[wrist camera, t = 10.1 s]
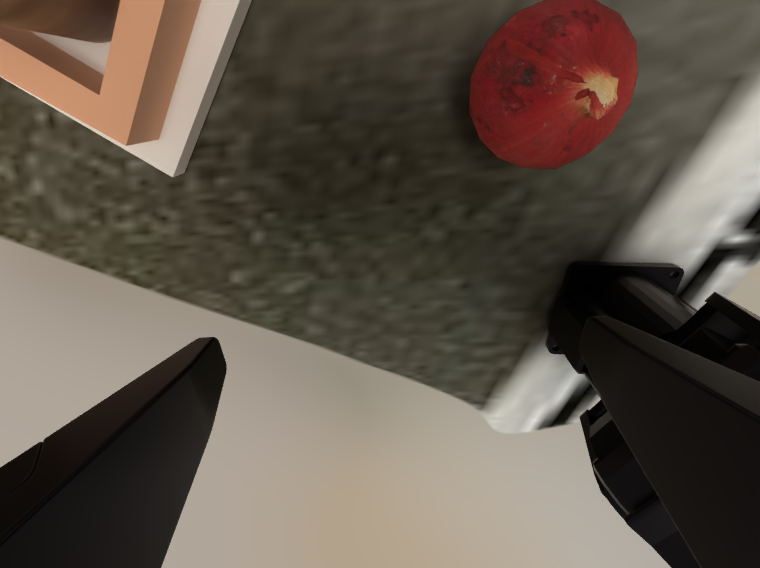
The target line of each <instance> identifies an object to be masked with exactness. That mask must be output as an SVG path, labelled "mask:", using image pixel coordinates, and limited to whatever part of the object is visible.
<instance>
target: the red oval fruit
mask: <svg viewBox="0 0 760 568" xmlns="http://www.w3.org/2000/svg"><path fill="white" fill-rule="evenodd" d="M637 76H638V65H637V45H636V40H635V38H634V37H633V35H632V33H631V32H630V30H629V28H628V26H627V25H626V23H625V21H624V20H623V18H622V16H621V14H619V13H617V12H616V11H614V10H612V9H610V8H608V7H607V6H605V5H603V4H601V3H599V2H598V1H596V0H544V1H542V2H540V3H537V4H535V5H533V6H530V7H528V8H526V9H523V10H521V11H519V12H517V13H516V14H515V15H514V16H513V17H512V18H511V19H510V20H509V21H508V22H506V23H505V24H504V25H503V26H502V27H501V28H500V29H499V30H498V31H497V32H496V33H495V34H494V35H493V36H492V37H491V38H490V39H489V40H488V41H487V43H486V45H485V47H484V49H483V51H482V53H481V55H480V58H479V60H478V62H477V64H476V66H475V68H474V71H473V73H472V75H471V82H470V103H469V112H470V114H471V117H472V120H473V122H474V125H475V128H476V130H477V133H478V136H479V139H480V140H481V141H482V142H483V143H484V144H485V145H486V146H487V147H488V148H489V149H490V150H491V151H492V152H493V153H494V154H495V155H496V156H497V157H498V158H500V159H503V160H505V161H508V162H510V163H513V164H515V165H518V166H520V167H524V168H544V169H556V168H558V167H561V166H563V165H565V164H567V163H570V162H572V161H574V160H576V159H579V158H581V157H583V156H585V155H587V154H588V153H590V152H591V151H592V150H593V149H594V148H595V147H597V146H598V145H599V144H600V143H601V142H602V141H603V140H604V139H606V138H607V137H608V136H609V135H610V134H611V133H612V132H613V131H614V129H615V127H616V126H617V124H618V123H619V121H620V120H621V118H622V117H623V115H624V113H625V112H626V110H627V109H628V107H629V106H630V103H631V99H632V95H633V91H634V87H635V84H636V80H637Z"/></svg>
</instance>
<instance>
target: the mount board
mask: <svg viewBox="0 0 760 568" xmlns="http://www.w3.org/2000/svg"><path fill="white" fill-rule="evenodd" d="M251 1H252V0H201V3H200V7H199V10H198V13H197V16H196V20H195V23H194V26H193V30H192V33H191V36H190V39H189V43H188V46H187V49H186V52H185V56H184V59H183V62H182V66H181V69H180V72H179V75H178V79H177V82H176V85H175V89H174V92H173V95H172V98H171V102H170V105H169V108H168V111H167V115H166V118H165V121H164V125H163V128H162V131H161V134H160V138H159V140H154V141H149V142H144V143H139V144H134V145H129V146H125V145H123V144H121V143H120V142H118V141H116V140H114V139H112V138H111V137H109V136H107V135H105V134H104V133H102V132H100V131H98V130H96V129H95V128H93V127H91V126H89V125H87V124H86V123H84V122H82V121H80V120H78V119H77V118H75V117H73V116H71V115H69V114H68V113H66V112H64V111H62V110H60V109H59V108H57V107H55V106H53V105H51V104H50V103H48V102H46V101H44V100H43V99H41V98H39V97H37V96H35V95H34V94H32V93H30V92H28V91H26V90H25V89H23V88H21V87H19V86H17V85H16V84H14V83H12V82H10V81H8V80H7V79H5V78H3V77H2V78H3V79H5V80H7V81H8V82H10V83H12V84H14V85H15V86H17V87H19V88H20V89H22V90H24V91H26V92H27V93H29V94H31V95H32V96H34V97H36V98H38V99H39V100H41V101H43V102H44V103H46V104H48V105H50V106H51V107H53V108H55V109H56V110H58V111H60V112H61V113H63V114H65V115H67V116H68V117H70V118H72V119H73V120H75V121H77V122H79V123H80V124H82V125H84V126H85V127H87V128H89V129H91V130H92V131H94V132H96V133H97V134H99V135H101V136H103V137H104V138H106V139H108V140H109V141H111V142H113V143H115V144H116V145H118V146H120V147H121V148H123V149H125V150H127V151H128V152H130V153H132V154H133V155H135V156H137V157H138V158H140V159H142V160H144V161H145V162H147V163H149V164H150V165H152V166H154V167H156V168H157V169H159V170H161V171H162V172H164V173H166V174H168V175H169V176H171V177H175V176H178V175H181V174H183V173H185V170H186V168H187V165H188V163H189V160H190V158H191V155H192V152H193V150H194V147H195V145H196V142H197V140H198V137H199V135H200V132H201V129H202V127H203V124H204V122H205V119H206V117H207V114H208V111H209V109H210V106H211V104H212V101H213V99H214V96H215V94H216V91H217V88H218V86H219V83H220V81H221V78H222V76H223V73H224V71H225V68H226V65H227V63H228V60H229V58H230V55H231V53H232V50H233V47H234V45H235V42H236V40H237V37H238V35H239V32H240V30H241V27H242V24H243V22H244V19H245V17H246V14H247V12H248V9H249V7H250V4H251ZM30 32H32V33H34V34H35V35H37V36H39V37H41V38H42V39H44V40H46V41H47V42H49V43H51V44H52V45H54V46H56V47H57V48H59V49H61V50H62V51H64V52H66V53H68V54H69V55H71V56H73V57H74V58H76V59H78V60H79V61H81V62H83V63H84V64H86V65H88V66H89V67H91V68H93V69H94V70H96V71H98V72H100V73H101V74H103V75H104V72H105V68H106V63H107V59H108V54H109V50H110V45H111V41H110V42H105V43H93V42H87V41H82V40H76V39H71V38H66V37H60V36H55V35H50V34H44V33H39V32H34V31H30ZM0 77H1V76H0Z"/></svg>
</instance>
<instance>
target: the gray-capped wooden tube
mask: <svg viewBox="0 0 760 568" xmlns="http://www.w3.org/2000/svg"><path fill="white" fill-rule="evenodd" d="M119 4H120V0H0V25H2V26H7V27H12V28H18V29H23V30H28V31H34V32H39V33H44V34H50V35H55V36H60V37H66V38H71V39H76V40H82V41H87V42H93V43H105V42H110V41H111V40H112V36H113V31H114V27H115V22H116V18H117V13H118V8H119Z"/></svg>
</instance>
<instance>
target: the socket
mask: <svg viewBox="0 0 760 568" xmlns="http://www.w3.org/2000/svg"><path fill="white" fill-rule="evenodd" d="M200 3H201V0H120V4H119V8H118V13H117V18H116V22H115V27H114V31H113V36H112V40H111V45H110V50H109V54H108V59H107V63H106V68H105V72H104V75H103V74H101V73H100V72H98V71H96V70H94V69H93V68H91V67H89V66H88V65H86V64H84V63H83V62H81V61H79V60H78V59H76V58H74V57H73V56H71V55H69V54H68V53H66V52H64V51H62V50H61V49H59V48H57V47H56V46H54V45H52V44H51V43H49V42H47V41H46V40H44V39H42V38H41V37H39V36H37V35H35V34H34V33H32V32H30V31H28V30H23V29H18V28H12V27H7V26H2V25H0V76H1V77H3V78H5V79H7V80H8V81H10V82H12V83H14V84H16V85H17V86H19V87H21V88H23V89H25V90H26V91H28V92H30V93H32V94H34V95H35V96H37V97H39V98H41V99H43V100H44V101H46V102H48V103H50V104H51V105H53V106H55V107H57V108H59V109H60V110H62V111H64V112H66V113H68V114H69V115H71V116H73V117H75V118H77V119H78V120H80V121H82V122H84V123H86V124H87V125H89V126H91V127H93V128H95V129H96V130H98V131H100V132H102V133H104V134H105V135H107V136H109V137H111V138H112V139H114V140H116V141H118V142H120V143H121V144H123V145H125V146H129V145H134V144H139V143H144V142H149V141H154V140H159V138H160V134H161V131H162V128H163V125H164V121H165V118H166V115H167V111H168V108H169V105H170V102H171V98H172V95H173V92H174V89H175V85H176V82H177V79H178V75H179V72H180V69H181V66H182V62H183V59H184V56H185V52H186V49H187V46H188V43H189V39H190V36H191V33H192V30H193V26H194V23H195V20H196V16H197V13H198V10H199V7H200Z"/></svg>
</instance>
